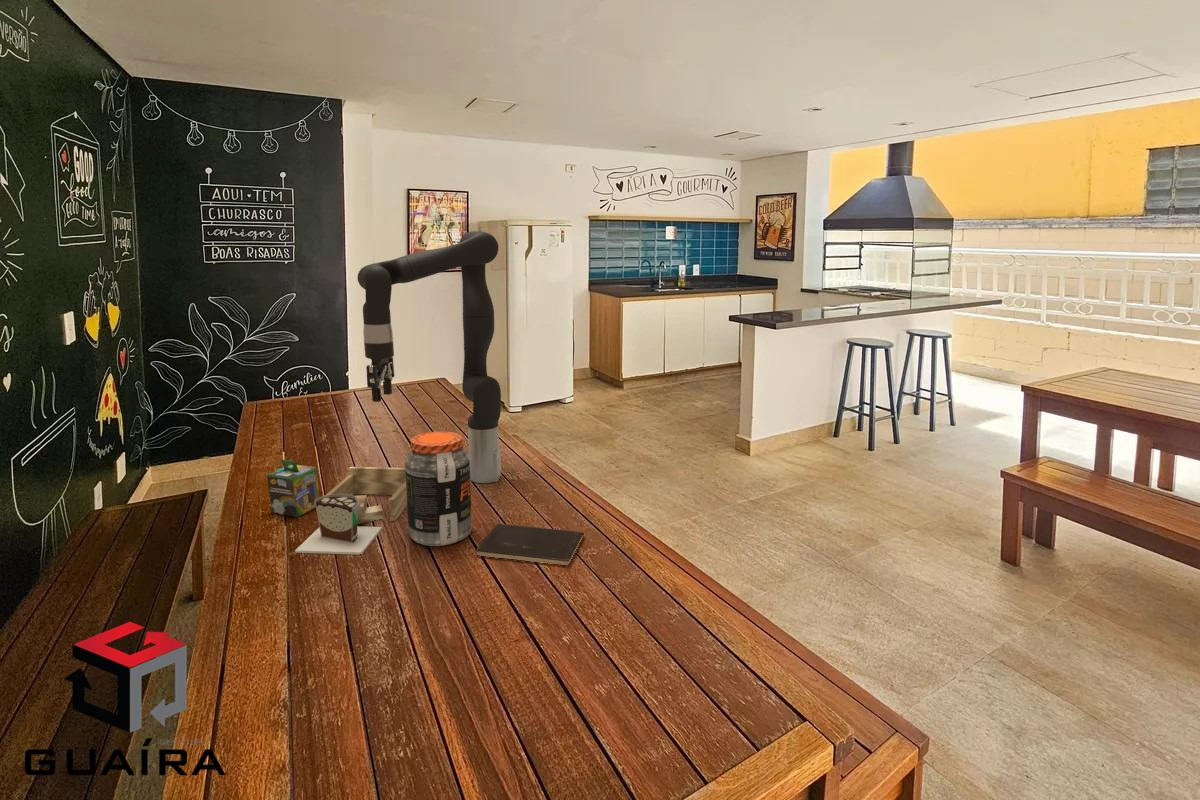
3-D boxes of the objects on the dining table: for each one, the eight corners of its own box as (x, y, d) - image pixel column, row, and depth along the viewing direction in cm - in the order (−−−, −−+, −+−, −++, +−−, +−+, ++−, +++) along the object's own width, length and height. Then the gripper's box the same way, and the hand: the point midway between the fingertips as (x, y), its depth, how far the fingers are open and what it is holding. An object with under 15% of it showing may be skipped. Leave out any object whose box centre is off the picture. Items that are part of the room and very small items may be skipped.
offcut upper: (351, 506, 178) (350, 496, 177) (367, 505, 179) (366, 495, 178) (348, 518, 171) (347, 507, 170) (364, 517, 172) (363, 506, 171)
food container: (373, 533, 167) (370, 496, 164) (357, 544, 161) (354, 506, 158) (333, 526, 170) (330, 490, 168) (316, 536, 165) (312, 499, 162)
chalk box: (321, 505, 185) (317, 455, 181) (297, 518, 176) (291, 466, 173) (295, 501, 188) (290, 451, 184) (270, 513, 179) (264, 462, 176)
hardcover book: (568, 569, 153) (568, 560, 152) (475, 558, 157) (475, 549, 156) (584, 539, 168) (584, 530, 167) (498, 530, 172) (498, 522, 172)
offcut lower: (381, 515, 180) (380, 505, 179) (384, 520, 177) (383, 510, 176) (334, 523, 175) (333, 513, 174) (336, 529, 171) (335, 518, 170)
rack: (416, 493, 194) (415, 468, 192) (394, 521, 175) (392, 493, 173) (352, 492, 194) (350, 466, 192) (323, 519, 176) (321, 491, 174)
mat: (382, 529, 171) (381, 527, 170) (361, 554, 157) (361, 552, 157) (321, 527, 171) (321, 525, 171) (295, 552, 157) (295, 550, 157)
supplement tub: (475, 544, 163) (472, 445, 157) (409, 552, 159) (403, 450, 152) (469, 518, 178) (465, 426, 171) (408, 525, 173) (402, 431, 167)
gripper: (382, 344, 172) (387, 404, 176) (400, 336, 186) (404, 392, 190) (354, 344, 172) (359, 404, 176) (374, 335, 186) (378, 391, 190)
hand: (382, 397), depth 183 cm, fingers open, 8 cm apart
